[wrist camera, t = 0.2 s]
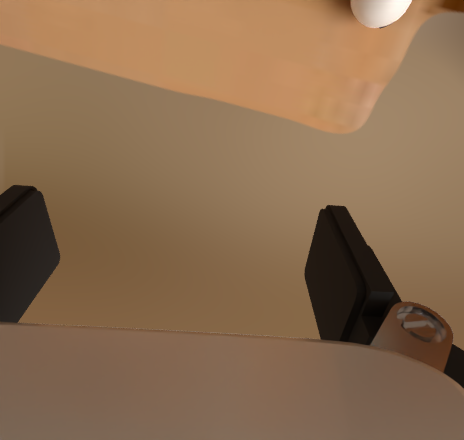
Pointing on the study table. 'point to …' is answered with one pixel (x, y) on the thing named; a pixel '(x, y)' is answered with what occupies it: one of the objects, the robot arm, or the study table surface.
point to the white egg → (378, 11)
